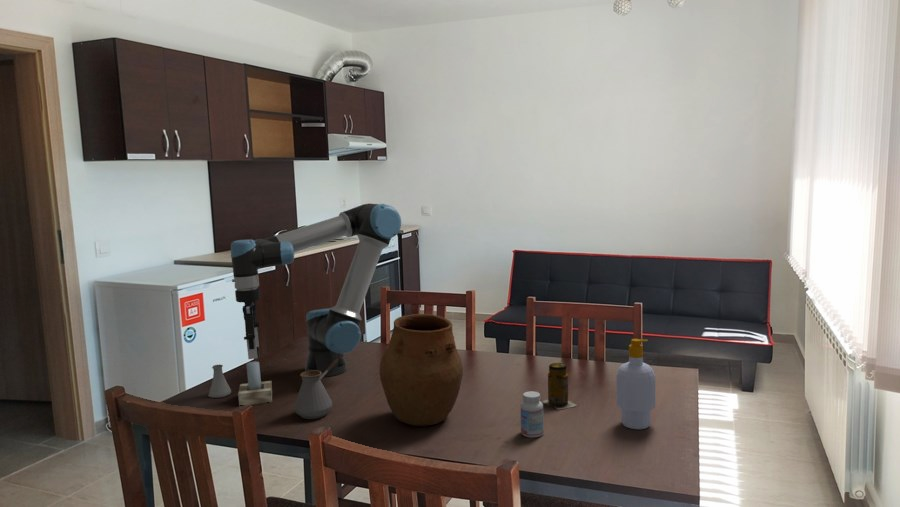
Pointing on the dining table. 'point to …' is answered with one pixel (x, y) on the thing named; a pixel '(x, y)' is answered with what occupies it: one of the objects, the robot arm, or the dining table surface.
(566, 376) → the condiment
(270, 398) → the socket block
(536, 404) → the pill bottle
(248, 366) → the peg
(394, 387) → the pot
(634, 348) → the soap bottle
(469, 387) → the dining table surface
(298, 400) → the coffee pot
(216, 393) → the flask
